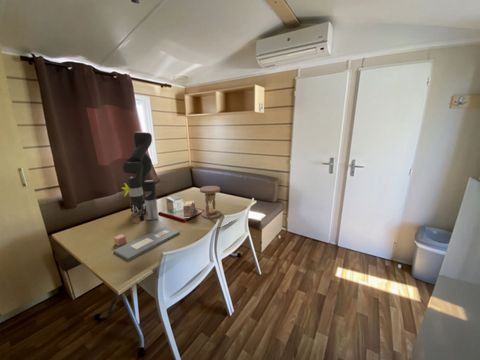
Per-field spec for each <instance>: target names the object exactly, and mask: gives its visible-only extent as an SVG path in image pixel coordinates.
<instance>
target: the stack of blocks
mask: <svg viewBox="0 0 480 360" xmlns="http://www.w3.org/2000/svg"><path fill="white" fill-rule="evenodd" d="M195 203H196V202H195V200H186V201H185V202H184V204H183V207H182V208H183V210H182V211H183V218H184V217H191V216H192V214H193V215H194V213H193V212H195V211H196V204H195ZM194 210H195V211H194ZM192 217H193V216H192Z"/></svg>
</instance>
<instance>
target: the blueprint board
mask: <svg viewBox="0 0 480 360" xmlns="http://www.w3.org/2000/svg"><path fill="white" fill-rule="evenodd" d="M180 234H181V233H180V231H179V230H176V229H173V228H171V227H167V226H163V227H160V228H158V229H157V230H155V231H152V232H150V233H147V234H145V235H143V236H141V237H139V238H137V239H134V240H132V241H130V242H128V243H125V244H123V245H120V246H118V247H117V248H115V249H113V253H114V254H116V255H117V256H120V257H121V258H122V259H124V260H127V261H128V262H129V261H130V260H132V259H134V258H136V257H139V256H140V255H142V254H144V253H146V252H148V251H150V250H152V249H153V248H155V247H157V246H159V245H160V244H163V243H164V242H166V241H169V240H170V239H172V238H174V237H175V236H178V235H180Z"/></svg>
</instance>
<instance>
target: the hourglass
mask: <svg viewBox="0 0 480 360" xmlns="http://www.w3.org/2000/svg"><path fill="white" fill-rule="evenodd" d="M199 192H200V193H202V194H204V196H205V200H204V201H205V203H206V204H205V205H206V206H205V210H204V211H202V212H201V213H200V217H201V218H202V217H203V218H202V219H205V220H214V219H218V218H219V217H221V215H222V213H221V211H220V210H218V209H216V200H215V199H216V194H217V193H219V192H221V188H220V187H219V186H217V185H205V186H201V187H200V188H199ZM209 203H210V204H212V208H210V207H209Z"/></svg>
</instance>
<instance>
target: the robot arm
mask: <svg viewBox="0 0 480 360" xmlns="http://www.w3.org/2000/svg"><path fill="white" fill-rule="evenodd" d="M152 138H153V136H152V134H151V133H150V132H146V131H134V133H133V142H134V146H135V148H134V149H133V150H132V152H131V154H130V156H129V157H128V158H127V159H126V160H125V161H124V162H123V165H122V170H123V173H124V174H126V175H128V174H129V175H132V174H133V175H134V174H135V176H132V178H131V177H129V178H128V179H127V182H128V187H129V192H128V193H129V194H128V195H129V202H130V203H129V206H130V212H131V213H132V214H134V213H136V212H138V213H139V214H140V221H142V222H144V221H145V220H144V215H146V211H148V218H147V219H146V220H147V221H154V220H157V219H159V211H158V201H157V193H156V181H155V180H154V179H149V180H146V178H147V176H148V175H149V174H150V172H151V171H152V168H153V166H152V165H153V164H152V159H151V158H150V156H149V155H148V153H147V151H148V150H149V148H150V146H151V145H152V142H153V139H152ZM146 192H149V193H148V194H146V195H145V196H144V193H146ZM143 202H144V204H143ZM139 210H141V211H139Z"/></svg>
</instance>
